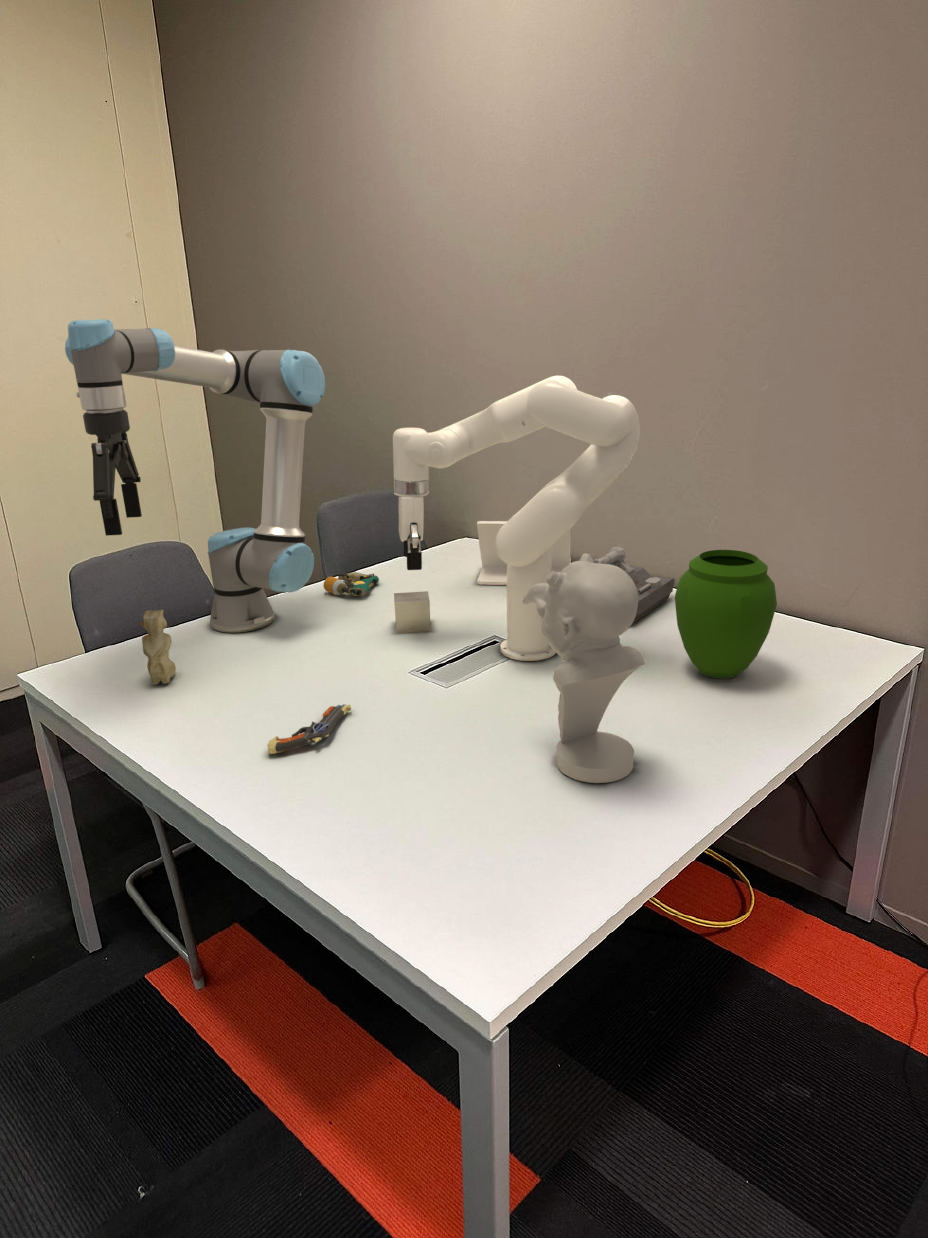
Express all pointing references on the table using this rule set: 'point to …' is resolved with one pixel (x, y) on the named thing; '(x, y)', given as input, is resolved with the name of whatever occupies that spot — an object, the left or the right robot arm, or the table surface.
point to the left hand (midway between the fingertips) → (124, 525)
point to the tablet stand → (496, 568)
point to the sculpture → (157, 647)
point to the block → (412, 612)
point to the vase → (724, 611)
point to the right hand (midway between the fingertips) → (412, 562)
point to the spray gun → (350, 583)
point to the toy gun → (310, 731)
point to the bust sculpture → (589, 662)
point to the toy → (641, 582)
